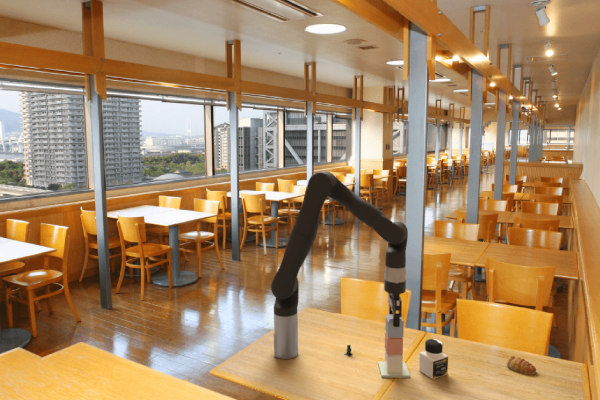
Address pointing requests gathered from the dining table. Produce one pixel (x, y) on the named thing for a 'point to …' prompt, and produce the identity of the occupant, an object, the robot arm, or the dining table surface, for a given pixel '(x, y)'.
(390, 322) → the grey block
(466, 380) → the dining table surface
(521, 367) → the pastry
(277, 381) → the dining table surface
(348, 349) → the sculpture
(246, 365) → the dining table surface
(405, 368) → the tower base
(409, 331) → the dining table surface
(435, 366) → the medicine bottle
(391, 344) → the brick terracotta
